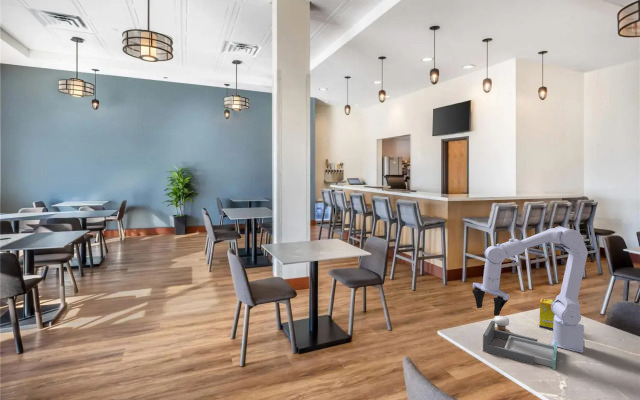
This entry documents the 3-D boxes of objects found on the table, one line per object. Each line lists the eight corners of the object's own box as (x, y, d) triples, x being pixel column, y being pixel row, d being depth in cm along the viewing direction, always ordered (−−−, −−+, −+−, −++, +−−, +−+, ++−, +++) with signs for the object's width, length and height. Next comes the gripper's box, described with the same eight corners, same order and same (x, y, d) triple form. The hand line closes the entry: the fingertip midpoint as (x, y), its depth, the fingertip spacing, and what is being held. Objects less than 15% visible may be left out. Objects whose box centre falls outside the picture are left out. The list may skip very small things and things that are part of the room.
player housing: (537, 346, 127) (537, 330, 127) (533, 364, 114) (534, 347, 114) (491, 335, 136) (491, 320, 136) (482, 351, 123) (483, 334, 123)
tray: (557, 350, 123) (557, 341, 123) (555, 369, 111) (555, 360, 110) (510, 339, 132) (510, 330, 132) (503, 356, 120) (503, 347, 119)
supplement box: (539, 322, 148) (540, 297, 148) (556, 325, 145) (557, 300, 144) (538, 327, 144) (539, 301, 143) (556, 330, 140) (557, 304, 140)
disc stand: (510, 330, 140) (510, 322, 140) (508, 336, 135) (508, 327, 135) (494, 327, 144) (494, 319, 144) (491, 332, 139) (492, 323, 139)
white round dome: (509, 322, 140) (509, 317, 140) (507, 326, 136) (507, 321, 136) (495, 319, 143) (495, 314, 143) (493, 323, 139) (493, 318, 139)
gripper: (468, 272, 137) (465, 305, 138) (502, 284, 124) (497, 320, 125) (480, 271, 140) (476, 303, 141) (514, 282, 127) (510, 318, 128)
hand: (487, 311), depth 133 cm, fingers open, 7 cm apart
